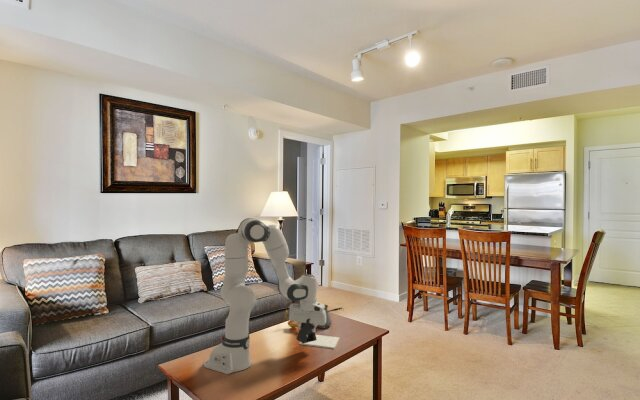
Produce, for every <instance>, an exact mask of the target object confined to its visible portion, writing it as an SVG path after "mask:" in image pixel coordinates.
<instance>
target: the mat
mask: <svg viewBox="0 0 640 400" xmlns="http://www.w3.org/2000/svg"><path fill="white" fill-rule="evenodd" d="M315 335H316V339H317V340H315V341H311V342H307V343H301V342H300V341H299V345H302V346H310V347H318V348H324V349H325V348H326V349H333V350H335V349H336V347H337V345H338V343H339V341H340V338H341V337H338V336H329V335H321V334H315Z"/></svg>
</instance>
